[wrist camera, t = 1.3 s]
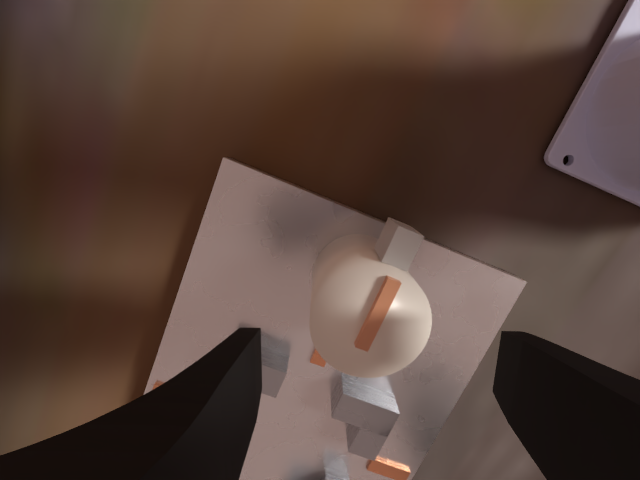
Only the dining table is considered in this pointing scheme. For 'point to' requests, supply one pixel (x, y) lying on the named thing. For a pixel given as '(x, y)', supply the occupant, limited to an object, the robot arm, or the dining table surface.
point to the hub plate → (295, 339)
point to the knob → (369, 303)
